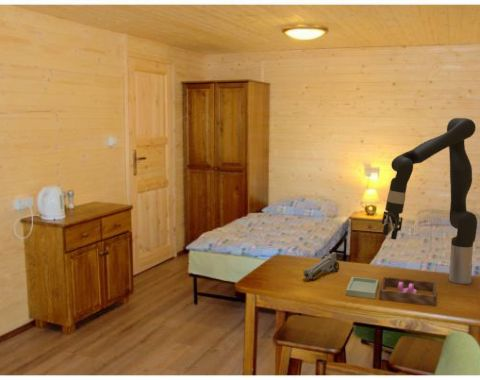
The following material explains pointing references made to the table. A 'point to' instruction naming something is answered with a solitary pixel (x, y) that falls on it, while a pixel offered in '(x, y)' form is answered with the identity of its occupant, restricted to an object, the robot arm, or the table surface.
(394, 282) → the crate
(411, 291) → the bracket
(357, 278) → the tray
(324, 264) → the toy
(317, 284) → the table surface
